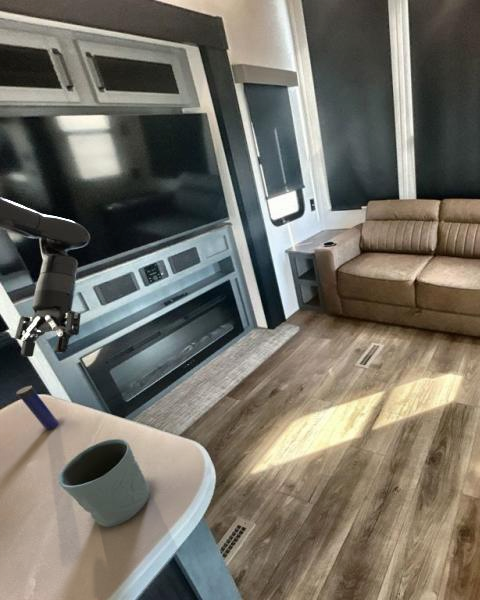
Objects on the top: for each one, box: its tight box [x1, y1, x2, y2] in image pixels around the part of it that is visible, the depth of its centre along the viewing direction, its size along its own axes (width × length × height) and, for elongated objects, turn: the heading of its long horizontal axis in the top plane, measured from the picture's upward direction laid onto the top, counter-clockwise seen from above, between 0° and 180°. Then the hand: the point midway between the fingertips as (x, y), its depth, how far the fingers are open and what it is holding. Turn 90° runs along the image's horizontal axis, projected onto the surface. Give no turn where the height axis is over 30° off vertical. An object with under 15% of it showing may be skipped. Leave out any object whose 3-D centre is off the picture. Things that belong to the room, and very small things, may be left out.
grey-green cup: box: [57, 438, 151, 528], centre depth 66 cm, size 10×10×12 cm
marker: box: [16, 385, 60, 431], centre depth 88 cm, size 3×3×12 cm
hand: (43, 354), depth 91 cm, fingers open, 8 cm apart
